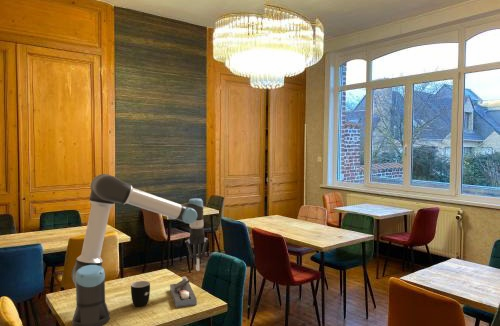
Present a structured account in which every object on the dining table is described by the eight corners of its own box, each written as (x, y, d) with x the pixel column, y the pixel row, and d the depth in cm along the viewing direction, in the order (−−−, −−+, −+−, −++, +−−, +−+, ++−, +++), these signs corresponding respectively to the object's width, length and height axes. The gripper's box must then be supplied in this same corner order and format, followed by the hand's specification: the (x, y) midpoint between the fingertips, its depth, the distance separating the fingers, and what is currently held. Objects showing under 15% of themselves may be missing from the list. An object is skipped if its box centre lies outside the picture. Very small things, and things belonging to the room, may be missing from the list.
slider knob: (183, 284, 200) (182, 278, 200) (182, 282, 203) (182, 276, 203) (186, 283, 201) (186, 278, 201) (185, 281, 204) (185, 276, 204)
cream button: (181, 300, 181) (181, 294, 181) (180, 297, 184) (180, 291, 184) (189, 299, 182) (189, 293, 182) (188, 296, 186) (188, 290, 186)
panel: (175, 307, 178) (175, 298, 178) (170, 289, 201) (170, 281, 201) (196, 304, 182) (196, 295, 181) (188, 287, 204) (188, 279, 204)
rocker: (175, 290, 192) (174, 288, 191) (174, 287, 195) (173, 285, 195) (189, 281, 194) (188, 279, 194) (188, 279, 198) (187, 277, 197)
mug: (145, 308, 178) (145, 287, 177) (127, 307, 179) (127, 286, 179) (155, 298, 189) (155, 279, 189) (138, 297, 191) (138, 278, 190)
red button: (180, 299, 187) (180, 293, 187) (179, 296, 190) (179, 290, 190) (187, 298, 188) (187, 292, 188) (186, 295, 191) (186, 289, 191)
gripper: (185, 229, 198) (186, 273, 199) (209, 227, 202) (211, 270, 203) (183, 226, 205) (184, 269, 206) (207, 224, 209) (208, 266, 210)
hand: (197, 270), depth 204 cm, fingers closed
